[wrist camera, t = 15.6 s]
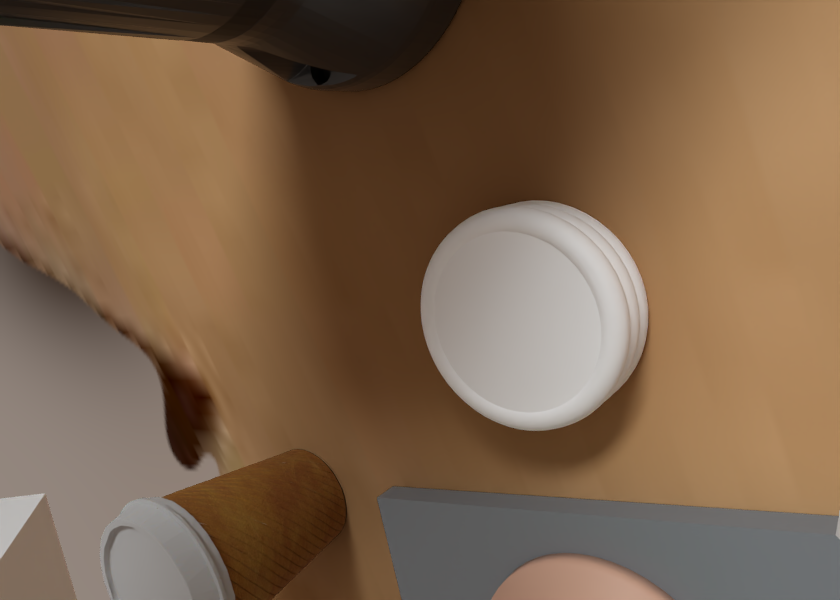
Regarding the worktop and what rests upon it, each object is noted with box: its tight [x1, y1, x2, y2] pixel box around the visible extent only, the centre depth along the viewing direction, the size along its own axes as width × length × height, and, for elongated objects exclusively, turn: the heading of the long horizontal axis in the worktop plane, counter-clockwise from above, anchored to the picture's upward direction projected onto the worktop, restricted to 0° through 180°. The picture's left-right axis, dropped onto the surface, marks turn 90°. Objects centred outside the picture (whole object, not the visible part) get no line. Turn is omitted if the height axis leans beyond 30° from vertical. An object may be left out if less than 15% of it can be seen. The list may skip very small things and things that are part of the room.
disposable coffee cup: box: [100, 449, 346, 600], centre depth 40 cm, size 10×10×12 cm
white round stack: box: [421, 200, 648, 431], centre depth 31 cm, size 10×10×4 cm
